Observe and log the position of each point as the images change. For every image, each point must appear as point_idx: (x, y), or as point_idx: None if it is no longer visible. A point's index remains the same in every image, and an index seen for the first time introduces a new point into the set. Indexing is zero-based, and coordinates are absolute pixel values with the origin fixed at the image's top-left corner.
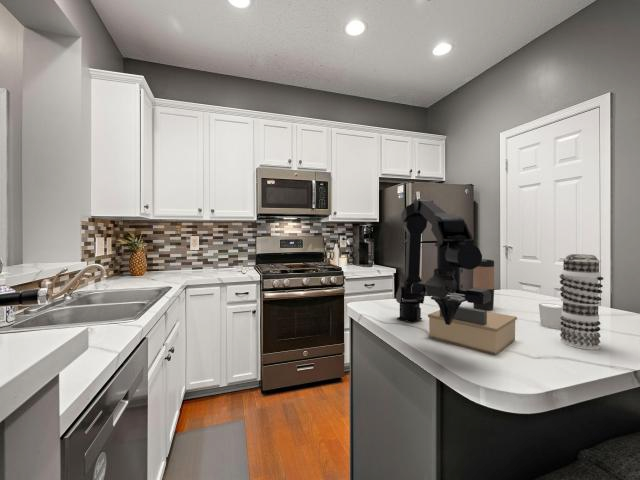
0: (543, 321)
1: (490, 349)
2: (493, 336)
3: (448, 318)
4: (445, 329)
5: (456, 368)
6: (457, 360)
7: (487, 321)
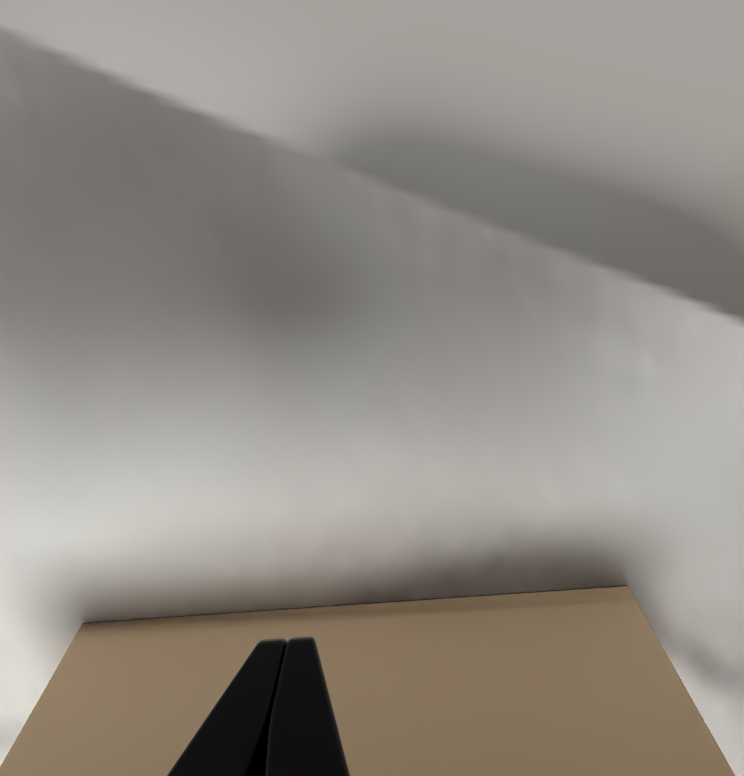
0: None
1: (103, 651)
2: (16, 773)
3: (222, 748)
4: (496, 698)
5: (21, 124)
6: (156, 319)
7: None
